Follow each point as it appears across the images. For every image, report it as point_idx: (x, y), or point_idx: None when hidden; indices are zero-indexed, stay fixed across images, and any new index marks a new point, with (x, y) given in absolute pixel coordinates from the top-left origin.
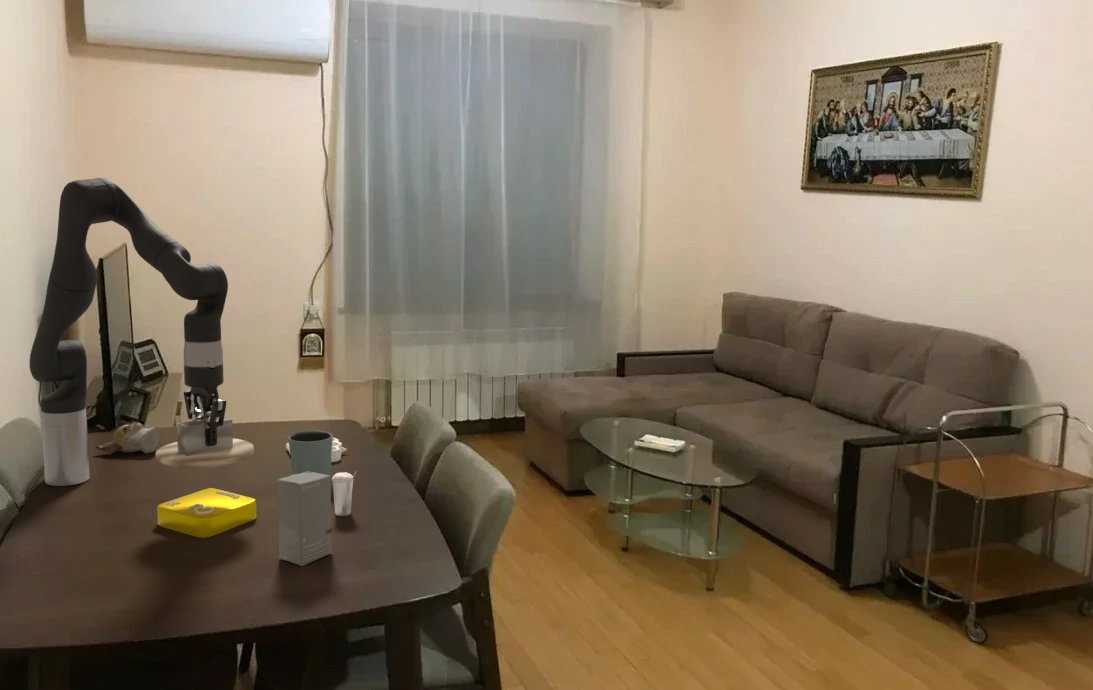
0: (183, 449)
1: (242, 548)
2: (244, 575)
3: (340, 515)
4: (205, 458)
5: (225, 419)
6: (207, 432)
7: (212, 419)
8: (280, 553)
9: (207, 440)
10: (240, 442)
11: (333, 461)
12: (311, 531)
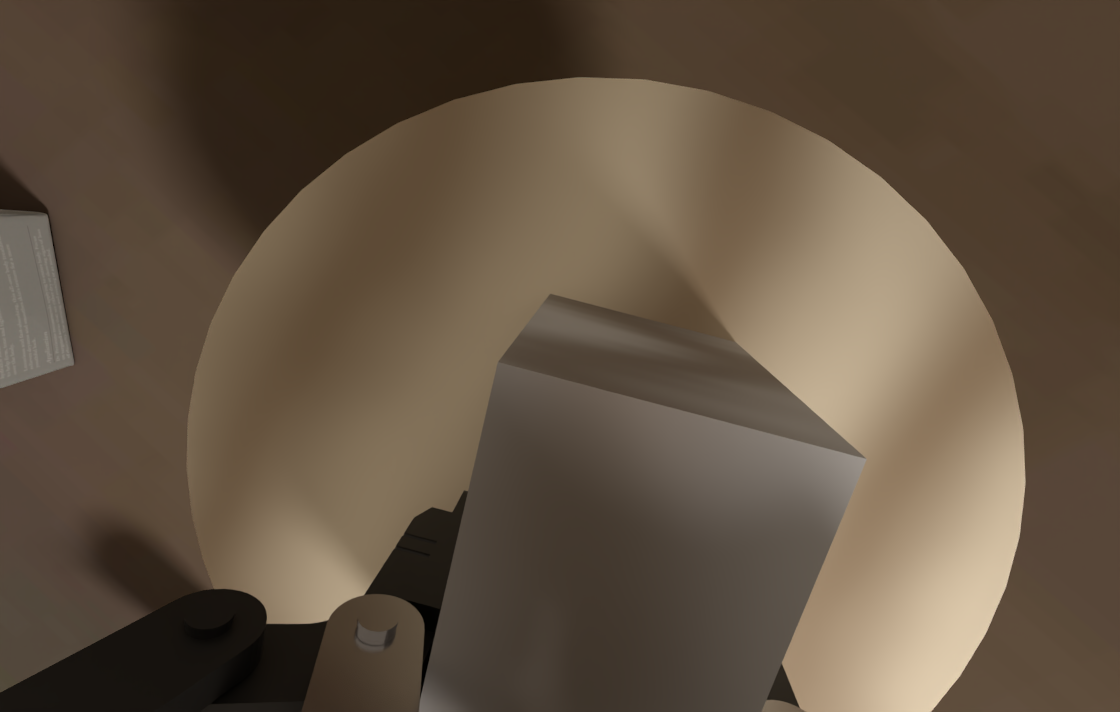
0: (619, 319)
1: (240, 219)
2: (16, 26)
3: None
4: (355, 331)
5: None
6: (421, 581)
7: (33, 694)
8: (16, 211)
9: (449, 521)
10: None
11: None
12: None
